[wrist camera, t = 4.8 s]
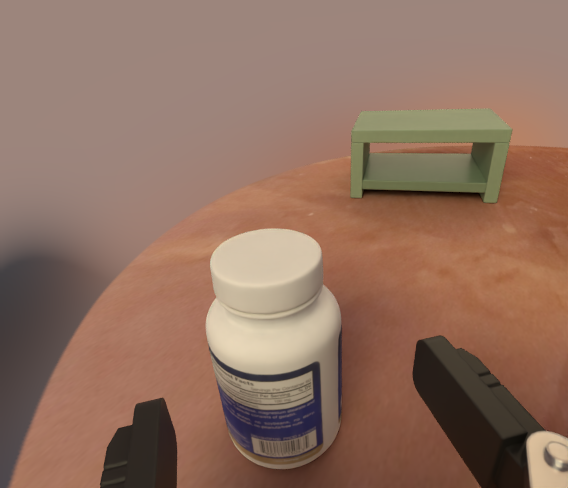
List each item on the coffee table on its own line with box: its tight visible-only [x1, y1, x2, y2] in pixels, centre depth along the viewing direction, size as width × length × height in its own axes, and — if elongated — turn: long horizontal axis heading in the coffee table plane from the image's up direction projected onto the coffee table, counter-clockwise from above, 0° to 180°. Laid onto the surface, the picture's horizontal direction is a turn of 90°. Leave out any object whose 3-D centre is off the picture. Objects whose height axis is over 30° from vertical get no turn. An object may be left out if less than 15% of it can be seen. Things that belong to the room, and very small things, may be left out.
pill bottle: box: [206, 229, 342, 469], centre depth 16 cm, size 5×5×9 cm
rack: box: [350, 109, 512, 203], centre depth 41 cm, size 14×10×7 cm
